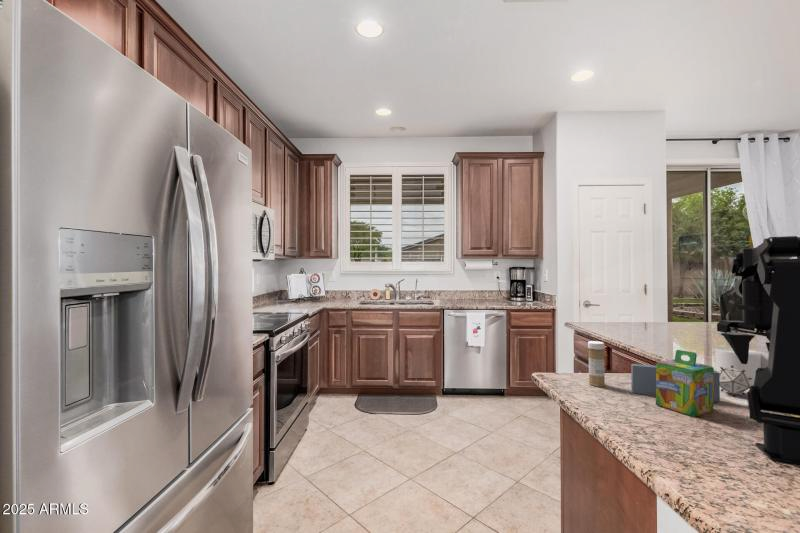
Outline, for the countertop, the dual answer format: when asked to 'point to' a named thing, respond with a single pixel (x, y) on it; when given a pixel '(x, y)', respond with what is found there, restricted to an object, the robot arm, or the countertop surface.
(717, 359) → the toilet tissue
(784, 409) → the robot arm
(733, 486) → the countertop surface
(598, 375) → the sprinkles bottle
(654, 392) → the board
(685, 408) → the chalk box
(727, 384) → the game die
